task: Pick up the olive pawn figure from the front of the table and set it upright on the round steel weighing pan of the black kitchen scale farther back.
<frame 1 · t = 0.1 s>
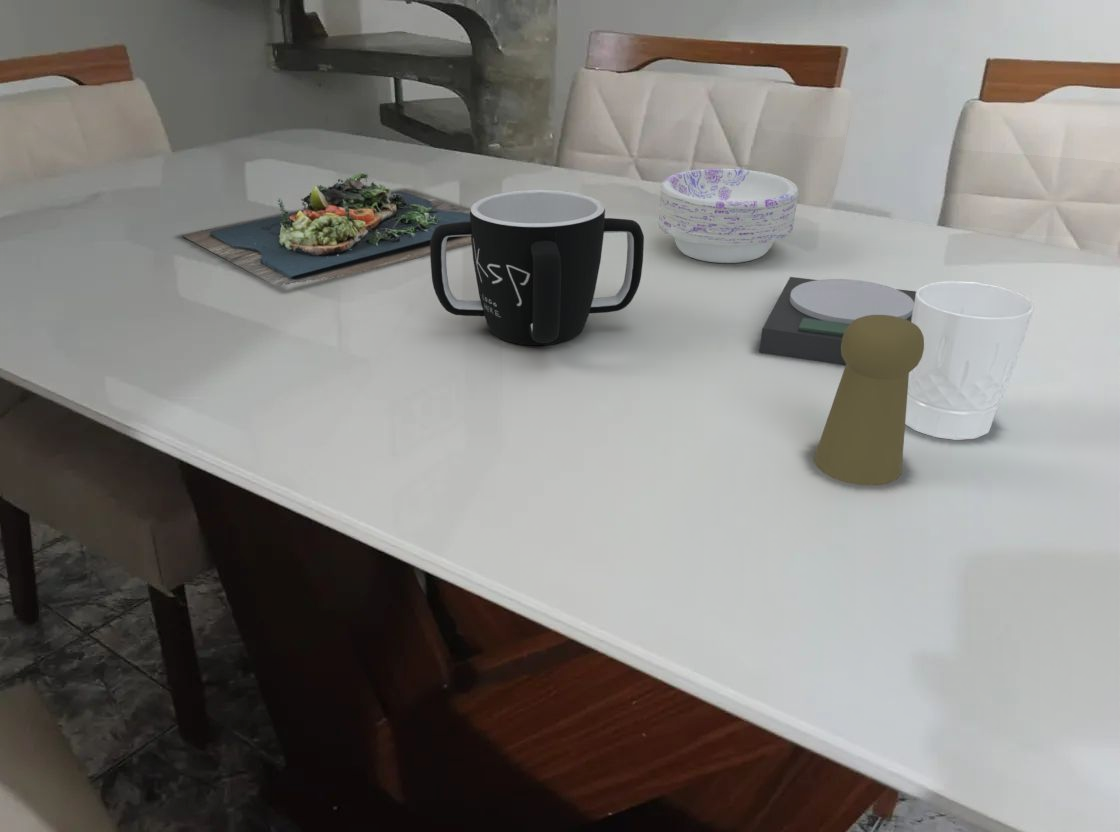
mug: (536, 332, 93), on the table
white cup: (942, 423, 76), on the table
kitchen scale: (844, 333, 91), on the table
olive pawn figure: (856, 466, 70), on the table
paper bowls: (721, 253, 113), on the table
plated dish: (354, 234, 123), on the table
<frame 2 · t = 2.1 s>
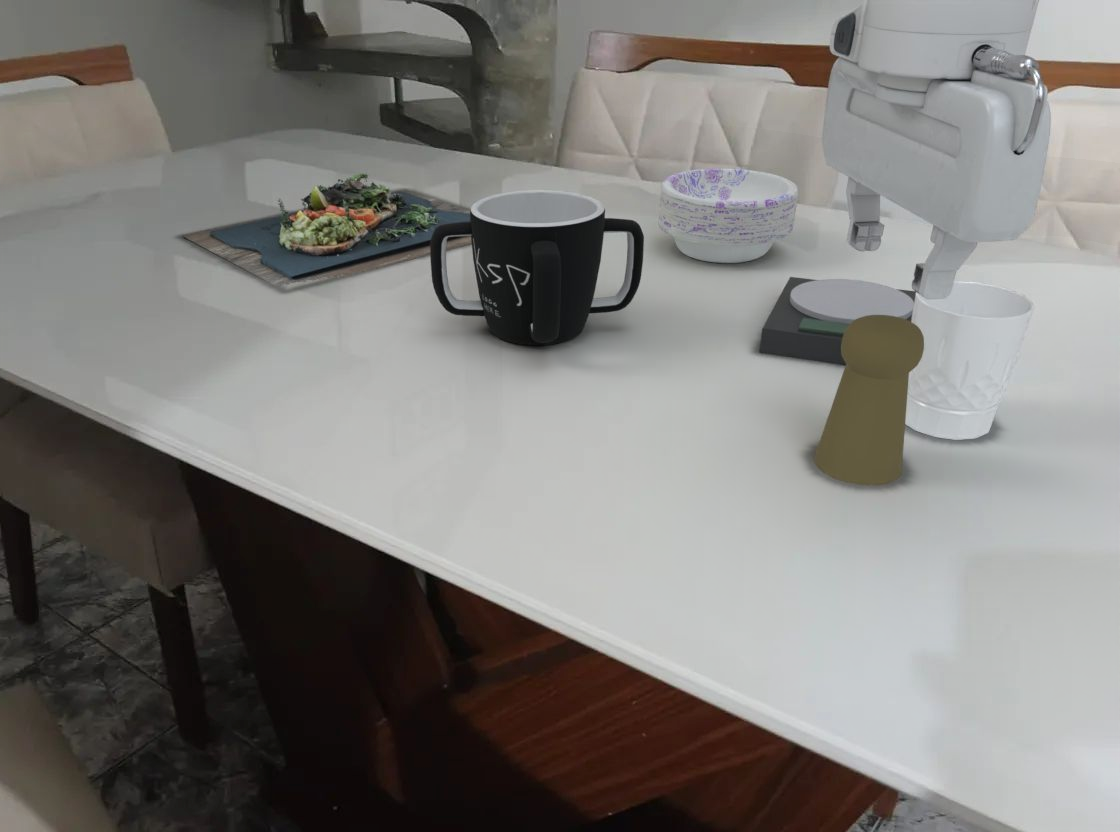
hand: (893, 270, 63), 14 cm above the table, tool pointing down, fingers open, 8 cm apart
nothing on the table moved.
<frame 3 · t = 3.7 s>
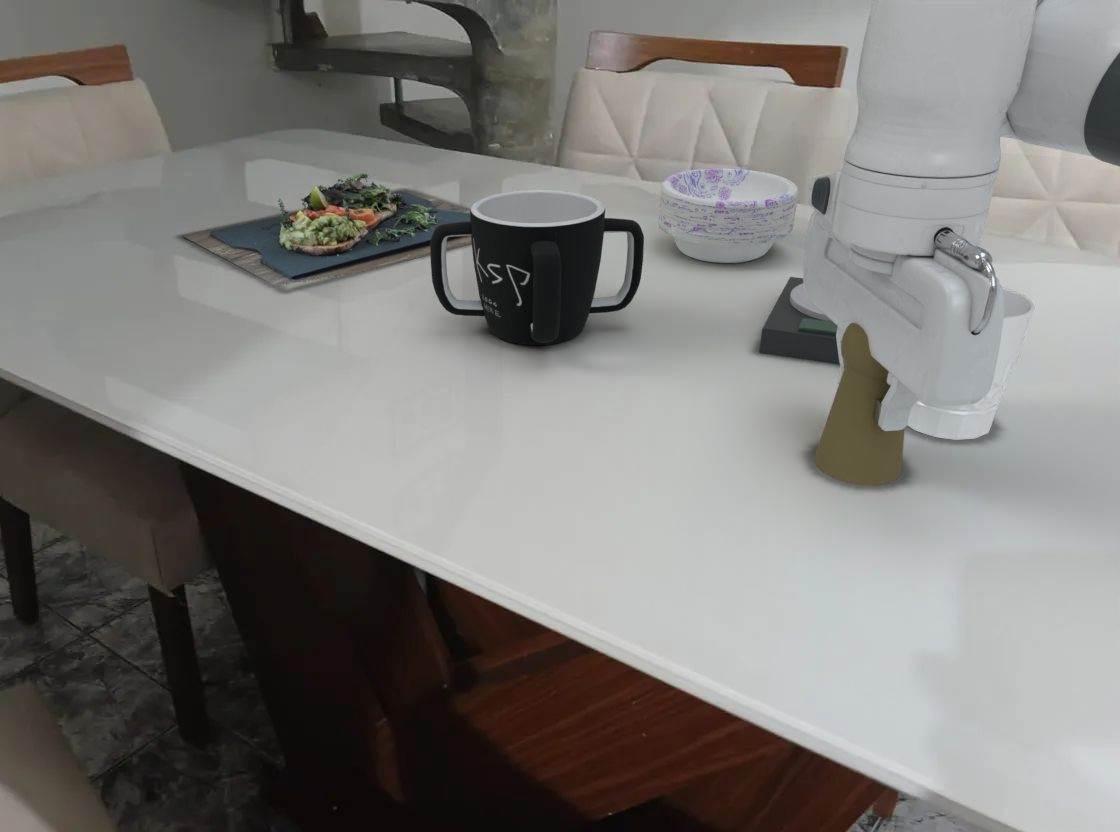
hand: (869, 407, 68), 5 cm above the table, tool pointing down, fingers closed on olive pawn figure, 4 cm apart
olive pawn figure: (856, 466, 70), on the table, touching gripper
everything else where it was.
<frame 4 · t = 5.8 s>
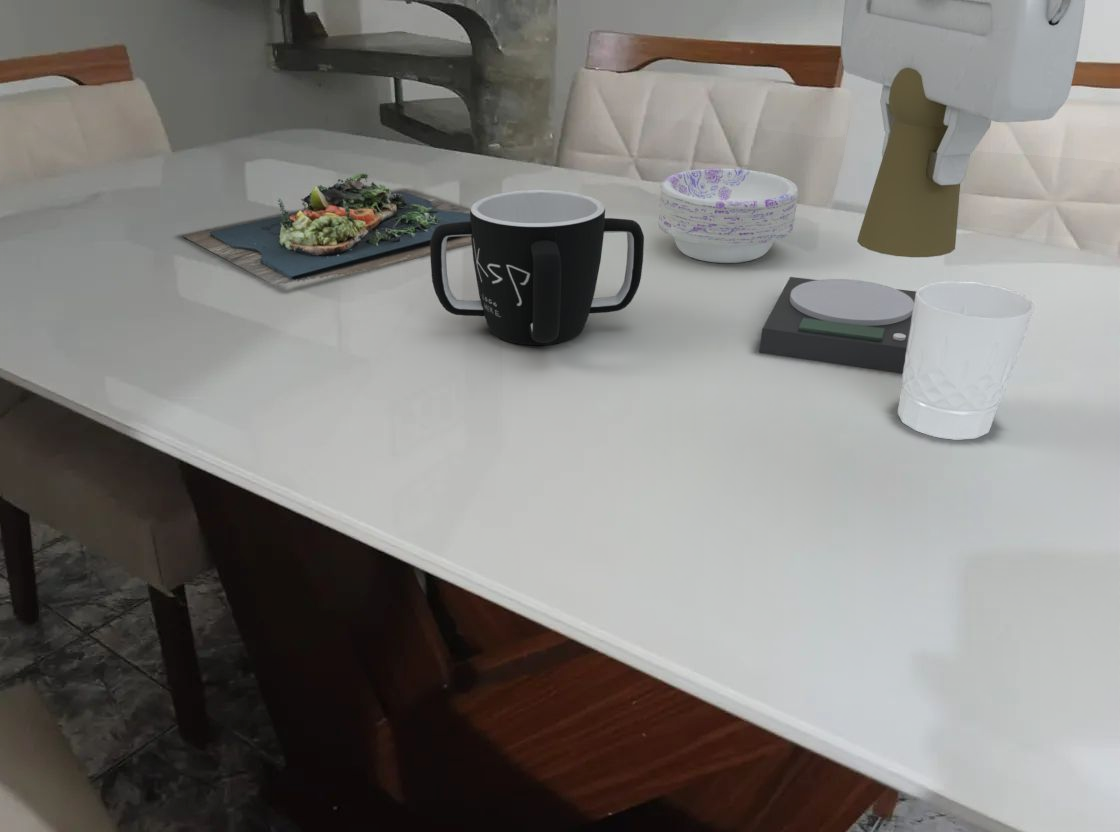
hand: (919, 171, 61), 20 cm above the table, tool pointing down, fingers closed on olive pawn figure, 4 cm apart
olive pawn figure: (904, 246, 64), point 15 cm above the table, touching gripper
everything else where it was.
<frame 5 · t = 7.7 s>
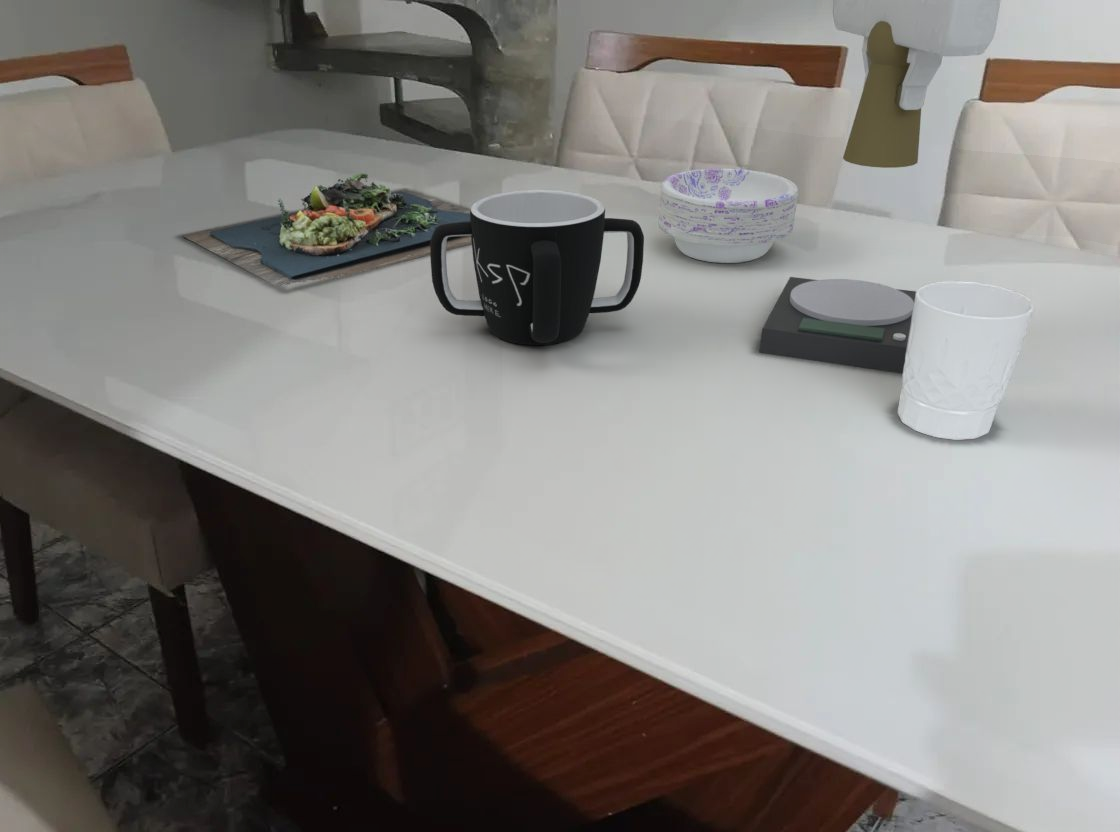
hand: (890, 102, 80), 21 cm above the table, tool pointing down, fingers closed on olive pawn figure, 4 cm apart
olive pawn figure: (879, 161, 83), point 16 cm above the table, touching gripper
everything else where it was.
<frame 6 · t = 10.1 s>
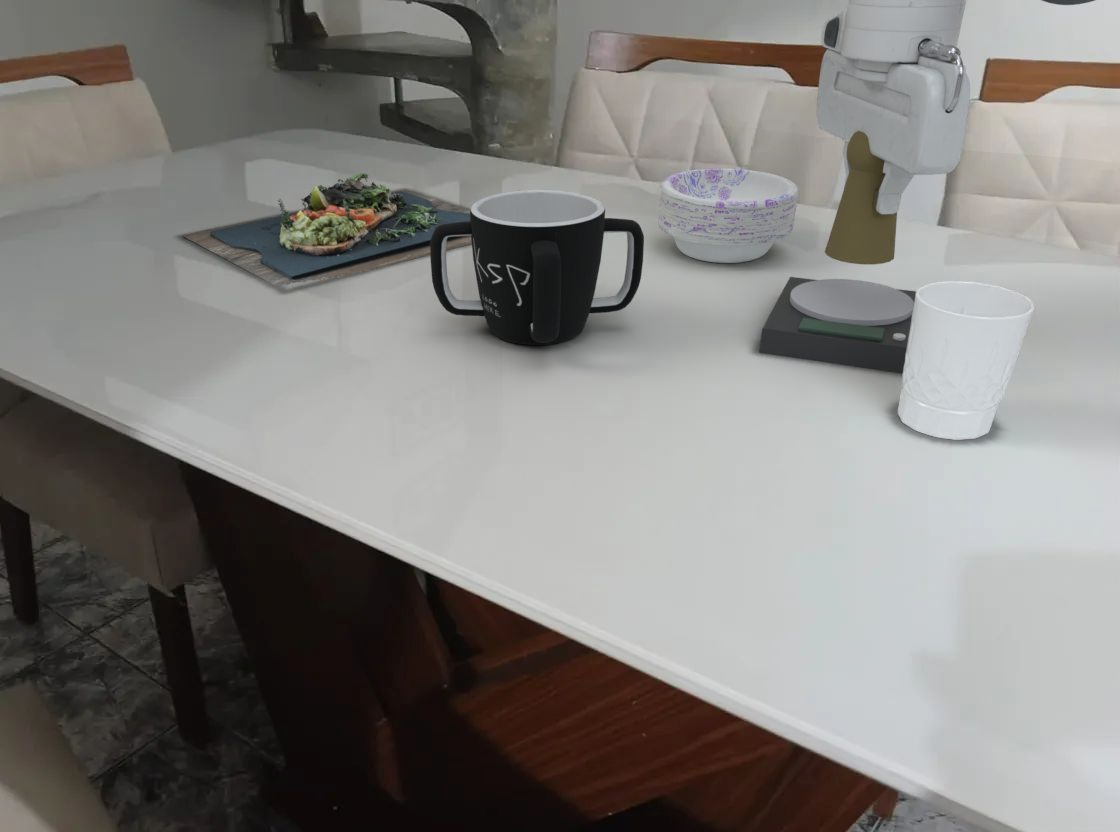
hand: (869, 203, 86), 12 cm above the table, tool pointing down, fingers closed on olive pawn figure, 4 cm apart
olive pawn figure: (858, 256, 88), point 7 cm above the table, touching gripper
everything else where it was.
when the fingers open (8 cm above the table, at t = 11.8 s): olive pawn figure stays where it is, resting on kitchen scale.
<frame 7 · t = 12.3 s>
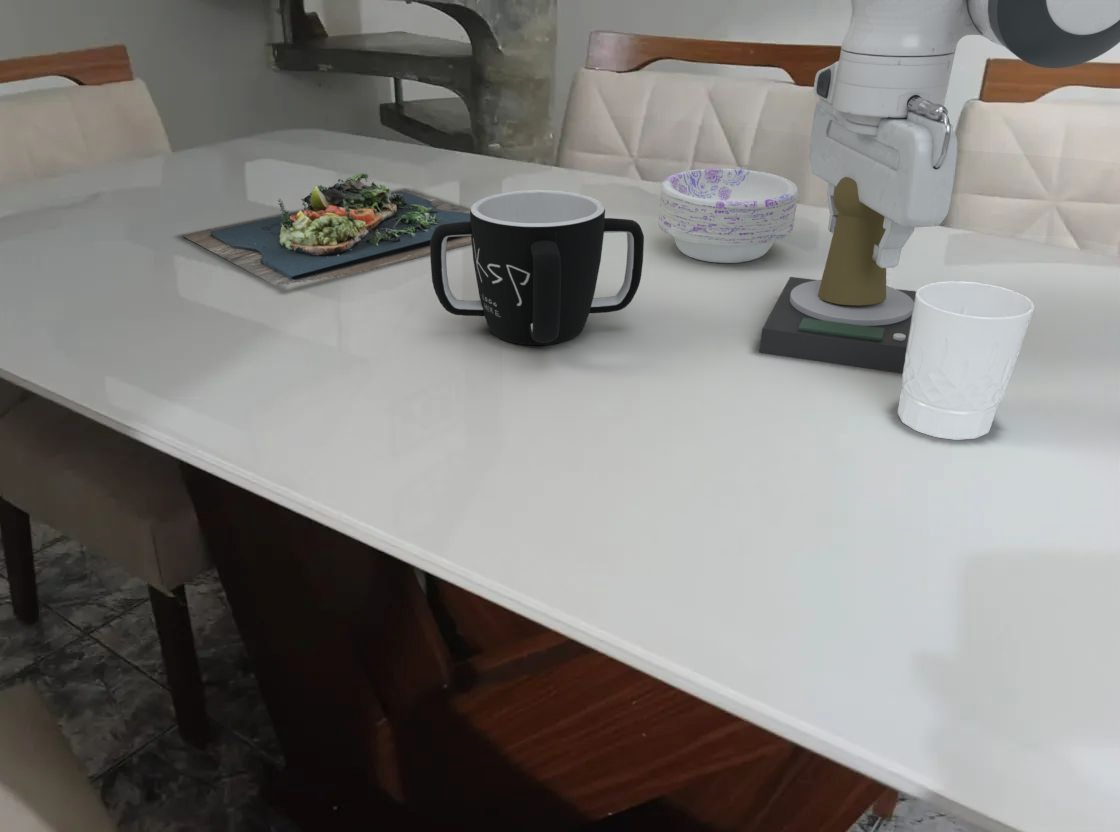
hand: (860, 249, 88), 8 cm above the table, tool pointing down, fingers open, 8 cm apart
olive pawn figure: (851, 298, 90), point 3 cm above the table, touching kitchen scale
everything else where it was.
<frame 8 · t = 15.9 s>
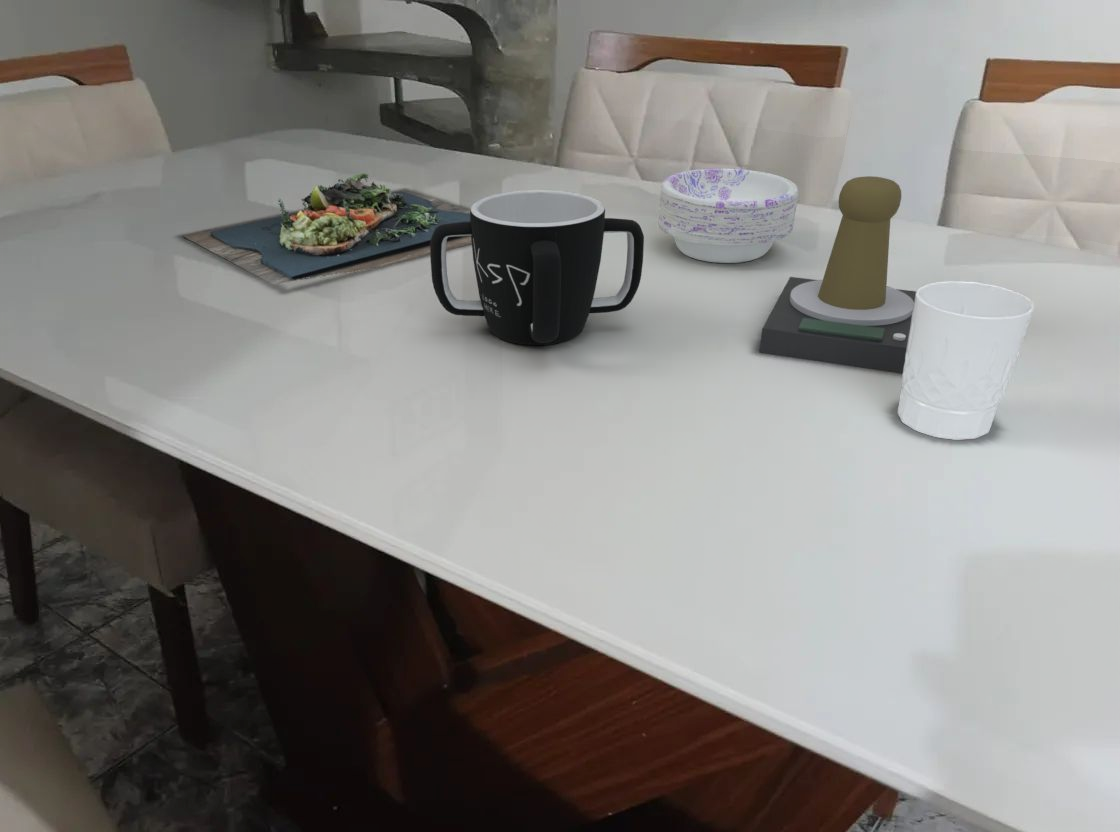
nothing on the table moved.
at the end: olive pawn figure inside the target area on the kitchen scale (0.1 cm from its centre), point 2.8 cm above the kitchen scale's base; olive pawn figure tilted 0°; the gripper is holding nothing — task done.
